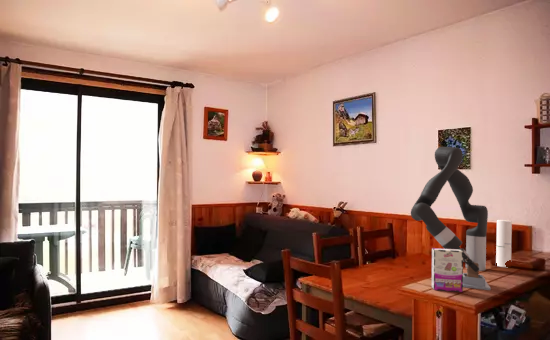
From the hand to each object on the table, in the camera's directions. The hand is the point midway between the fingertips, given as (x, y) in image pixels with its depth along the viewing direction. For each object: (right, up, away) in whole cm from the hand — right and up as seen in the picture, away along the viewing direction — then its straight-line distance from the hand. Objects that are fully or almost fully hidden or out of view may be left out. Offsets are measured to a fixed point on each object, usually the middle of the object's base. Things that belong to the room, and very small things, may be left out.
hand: (476, 268), depth 168 cm
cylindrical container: (+39, -11, +47) cm, 62 cm away
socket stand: (-2, -7, 0) cm, 7 cm away
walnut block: (-2, -6, 0) cm, 6 cm away
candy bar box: (-17, -6, -9) cm, 20 cm away
